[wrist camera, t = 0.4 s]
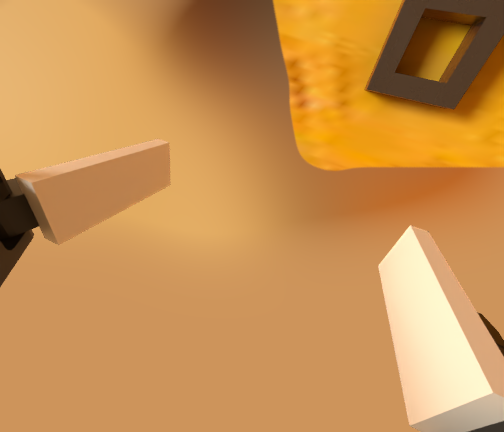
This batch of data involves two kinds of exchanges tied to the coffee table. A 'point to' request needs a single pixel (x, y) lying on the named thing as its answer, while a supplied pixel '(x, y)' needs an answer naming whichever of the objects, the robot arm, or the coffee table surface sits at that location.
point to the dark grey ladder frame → (463, 62)
